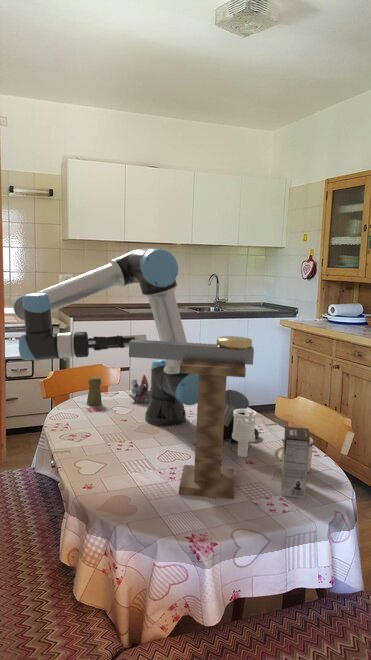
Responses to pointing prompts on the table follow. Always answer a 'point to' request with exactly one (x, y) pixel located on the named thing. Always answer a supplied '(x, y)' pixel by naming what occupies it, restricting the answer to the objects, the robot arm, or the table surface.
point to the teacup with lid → (282, 453)
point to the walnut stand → (209, 431)
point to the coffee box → (295, 462)
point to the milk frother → (232, 403)
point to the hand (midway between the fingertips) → (146, 340)
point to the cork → (94, 392)
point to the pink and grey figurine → (140, 391)
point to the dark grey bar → (196, 350)
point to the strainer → (243, 429)
